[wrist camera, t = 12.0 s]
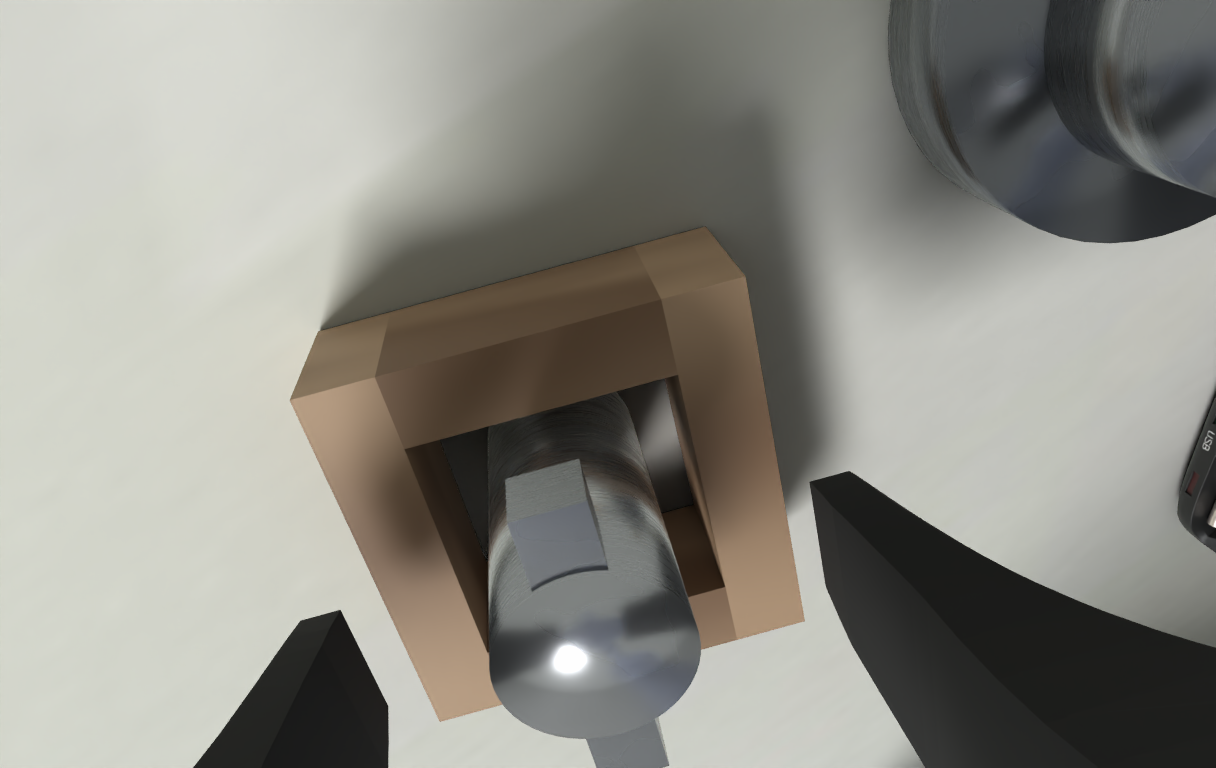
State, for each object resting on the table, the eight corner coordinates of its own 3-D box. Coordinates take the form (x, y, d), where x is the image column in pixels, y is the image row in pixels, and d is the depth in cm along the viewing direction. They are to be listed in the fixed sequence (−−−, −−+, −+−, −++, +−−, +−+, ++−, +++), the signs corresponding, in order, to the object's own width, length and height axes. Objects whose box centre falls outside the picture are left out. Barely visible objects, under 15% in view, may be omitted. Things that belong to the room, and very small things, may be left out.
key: (657, 516, 18) (730, 754, 13) (525, 553, 18) (543, 806, 13) (601, 305, 16) (660, 484, 11) (451, 347, 16) (435, 547, 11)
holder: (764, 537, 19) (804, 621, 16) (444, 625, 19) (439, 722, 16) (705, 226, 15) (745, 276, 13) (318, 331, 15) (290, 400, 13)
